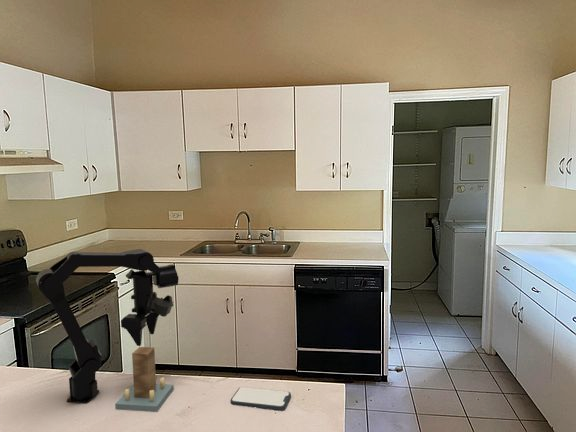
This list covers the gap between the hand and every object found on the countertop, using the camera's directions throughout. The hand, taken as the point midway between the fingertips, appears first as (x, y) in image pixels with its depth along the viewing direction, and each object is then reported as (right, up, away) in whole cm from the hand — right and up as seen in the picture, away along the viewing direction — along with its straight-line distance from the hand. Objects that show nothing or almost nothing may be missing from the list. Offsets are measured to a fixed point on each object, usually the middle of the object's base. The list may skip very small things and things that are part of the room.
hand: (145, 339), depth 136 cm
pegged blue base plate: (+3, -14, -10) cm, 18 cm away
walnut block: (+3, -13, -10) cm, 17 cm away
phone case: (+36, -15, -11) cm, 41 cm away
